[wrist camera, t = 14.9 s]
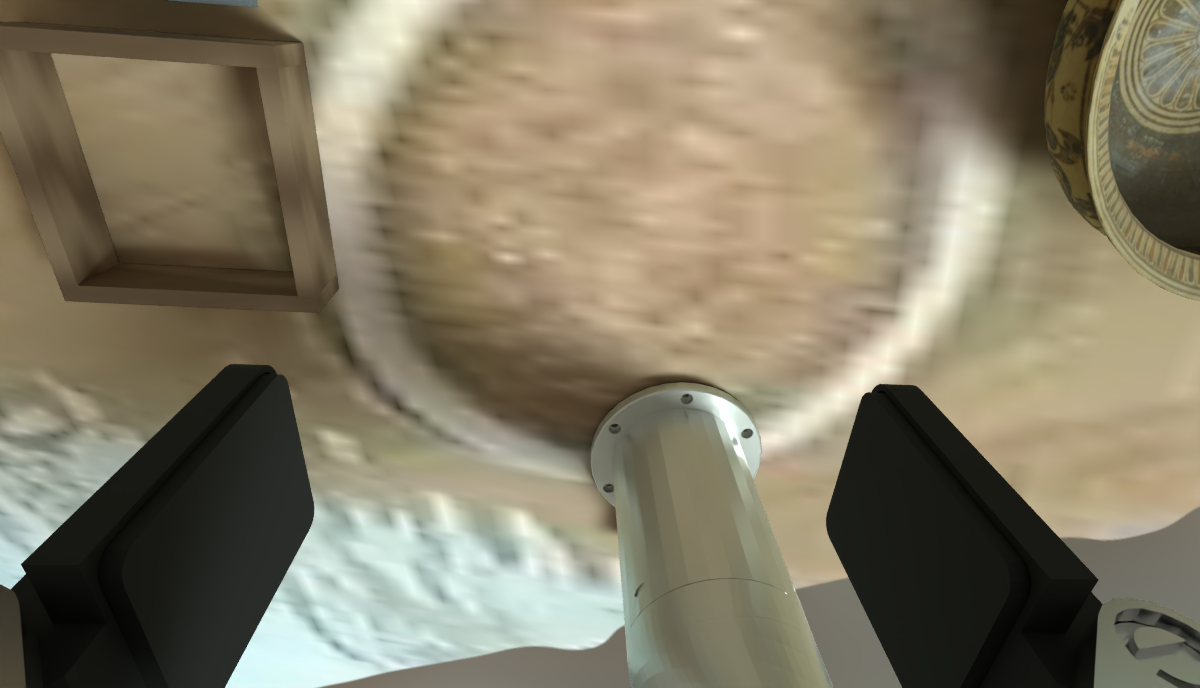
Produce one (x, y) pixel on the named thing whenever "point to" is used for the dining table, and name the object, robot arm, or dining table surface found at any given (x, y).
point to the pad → (225, 2)
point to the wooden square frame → (69, 201)
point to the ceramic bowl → (1131, 130)
